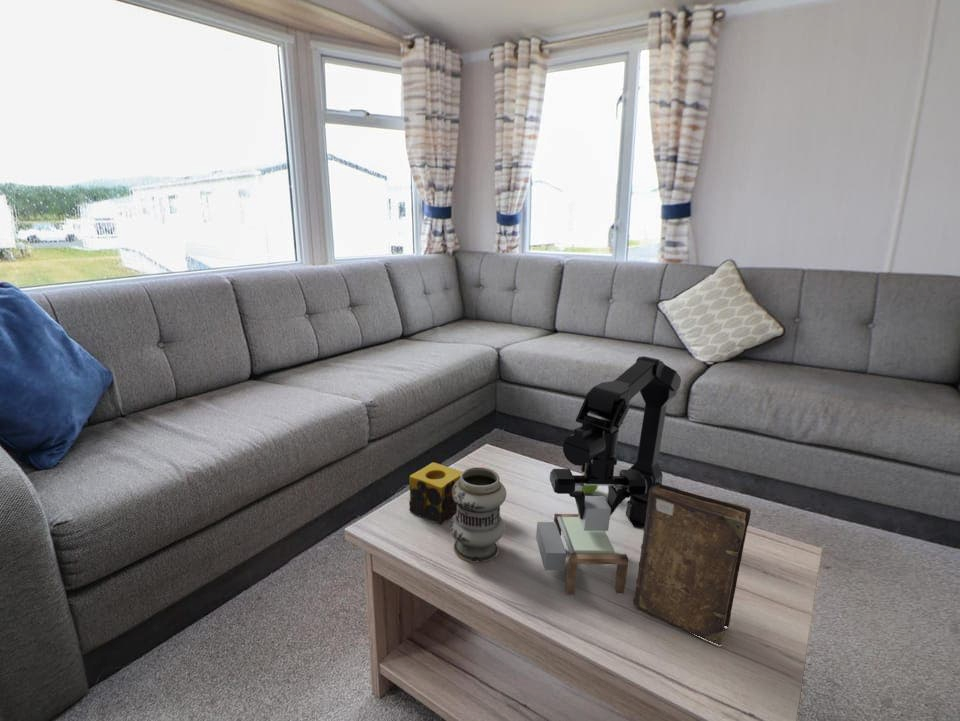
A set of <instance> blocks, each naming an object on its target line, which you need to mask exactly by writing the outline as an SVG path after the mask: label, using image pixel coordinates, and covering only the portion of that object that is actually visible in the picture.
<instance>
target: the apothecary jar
mask: <svg viewBox="0 0 960 721" xmlns="http://www.w3.org/2000/svg"><path fill="white" fill-rule="evenodd" d="M500 480H501V479H500V476H499V474H498V472H496V471H495V470H493V469H491V468H488V467H485V468H484V467H483V466H475V467H470V468H467V469H464V470H463V471H462V473H461V475H460V479H459V480H458V481H457V482H456V483H455V484H454V486H453V488H452V497H453V499H454V501H455V502H456V503H457V509H456V514H455V515H454V516H452V517H451V518H450V519H451V520H450V522H449V531H450V533H451V536H452V537H453V538H454V539H455V540H456V541H455V542H454V544H453V551H454V553H455V554H456V556H457V557H459V559H461V560H464V561H467V562H468V563H469V562H471V563H474V562H480V563H485V562H488V561H491V560H492V559H495V557H496V556H497V555H498V554H499V553H498V552H499V547H498V544H497V542H498V541H499V540H501V538H502V537H503V536H504V533H505V530H506V525H505V522H504V519H503V518H502V516H500V515H501V514H500V513H501V512H500V511H501V505H503V503H504V502H505V501H506V498H507V489H506V487H505V485H504V484H503V483H502V482H501V481H500Z"/></svg>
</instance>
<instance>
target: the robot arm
mask: <svg viewBox="0 0 960 721" xmlns="http://www.w3.org/2000/svg"><path fill="white" fill-rule="evenodd" d="M681 382H682V379H681V376H680V375H679V374H678V371H677V370H676V369H673V368H672V367H670V366H668V365H667V364H665V363H664V361H662V360H660V359H659V358H654V357H651V356H650V357H649V356H644V355H643V356H638V357H637V359H636V361H635V363H634V364H632V365H631V366H630V367H629V368H628V369H626V370H625V371H624V372H622V374H620V375H619V376H617V377H616V378H615V379H614V380H612V381H606V382H605V381H604V382H600V383H599V384H596V385H594V386H593V387H592V388H590V390H589V391H588V392H587V394H586V395H585V398H584V400H583V402H582V405H581V407H580V409H579V411H578V414H577V416H576V418H575V422H576V423H579V424H581V426H580V427H577V428H574V429H573V433H572V434H571V435H570V436H568V437H566V438H565V440H564V441H563V443H562V453H563V456H564V457H565V458H566V460H567V461H568V462H569V463H570V464H572V465H574V466H577V467H580V471H581V473H583V474H584V475H582V474H581V475H578V474H577V475H574V474H573V473H572V471H571V469H570V468H553V469H552V470H551V471H550V473H549V482H550V484H551V486H552V490H553V492H554V493H555V494H561V495H563V494H564V495H567V494H568V495H569V496H570V497H571V498H574V500H575V504H576V508H577V514H579V517H580V519H583V515H584V504H585V496H586V495H585V494H586V493H584V492H583V490H582V489H583V486H584V485H596V486H599V487H600V486H602V487H604V486H605V487H606V486H608V487H607V488H608V489H607V490H608V493H607V497H606V498H607V499H606V501H607V503H608V505H609V506H610V508H611V513H610V517H611V516H612V514H613V513H614V512H615V511H616V509H617V508H618V507H619V506H620V504H621V503H623V502H624V501H625V499H627V498H628V499H629V500H627V503H626V510H625V513H626V514H625V513H624V514H625V516H626V517H627V519H628V521H629V522H630V524H631V523H632V524H631V526H632V525H633V526H635V527H634V528H644V527H645V521H646V510H647V506H648V497H649V490H650V488H651V487H653V486H656V485H664V484H663V478H664V477H663V472H662V470H661V468H660V465H659V454H660V450H661V444H662V437H663V432H664V431H663V430H664V424H665V419H666V413H667V407H668V405H670V403H671V401H673V399H674V398H676V396H677V394H678V393H677V392H678V391H679V389H680V387H681V384H682V383H681ZM638 393H640V395H641V398H642V400H643V402H644V410H643V417H642V423H641V429H640V430H641V431H640V436H639V442H638V450H637V455H636V461H635V463H633V464H632V466H631V467H629V468H628V469H621V470H619V473H618V474H614V471H615V466H617V463H618V460H617V458H616V454H617V447H618V439H619V431H620V427H621V425H623V423H624V420H625V417H626V416H627V415H628V413H629V410H630V401H631V400H632V399H633V398H634V397H635V396H636V395H637V394H638ZM589 414H590V415H589ZM593 415H594V416H593ZM595 416H597V417H595ZM598 417H599V418H598ZM633 526H632V527H633ZM638 526H639V527H638Z"/></svg>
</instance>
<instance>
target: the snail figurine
mask: <svg viewBox="0 0 960 721" xmlns="http://www.w3.org/2000/svg"><path fill="white" fill-rule="evenodd" d="M581 475H584V473H582V474H581ZM597 489H598V486H596V485H584V486H583V489H582V490H583V492H584V494H589V495H590V494H593V493H594V492H596V490H597Z"/></svg>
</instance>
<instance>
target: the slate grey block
mask: <svg viewBox="0 0 960 721" xmlns="http://www.w3.org/2000/svg"><path fill="white" fill-rule="evenodd" d="M610 513H611V508H610V506H609V505H608V503H607V499H606V497H605V496H603V495H585V504H584V515H583V519H580V517H579V515H578V518H579V520H580V522H581V525H582V527H583V529H584V531H605V532H607V531H608V532H609V528H610V520H611V516H610Z"/></svg>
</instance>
